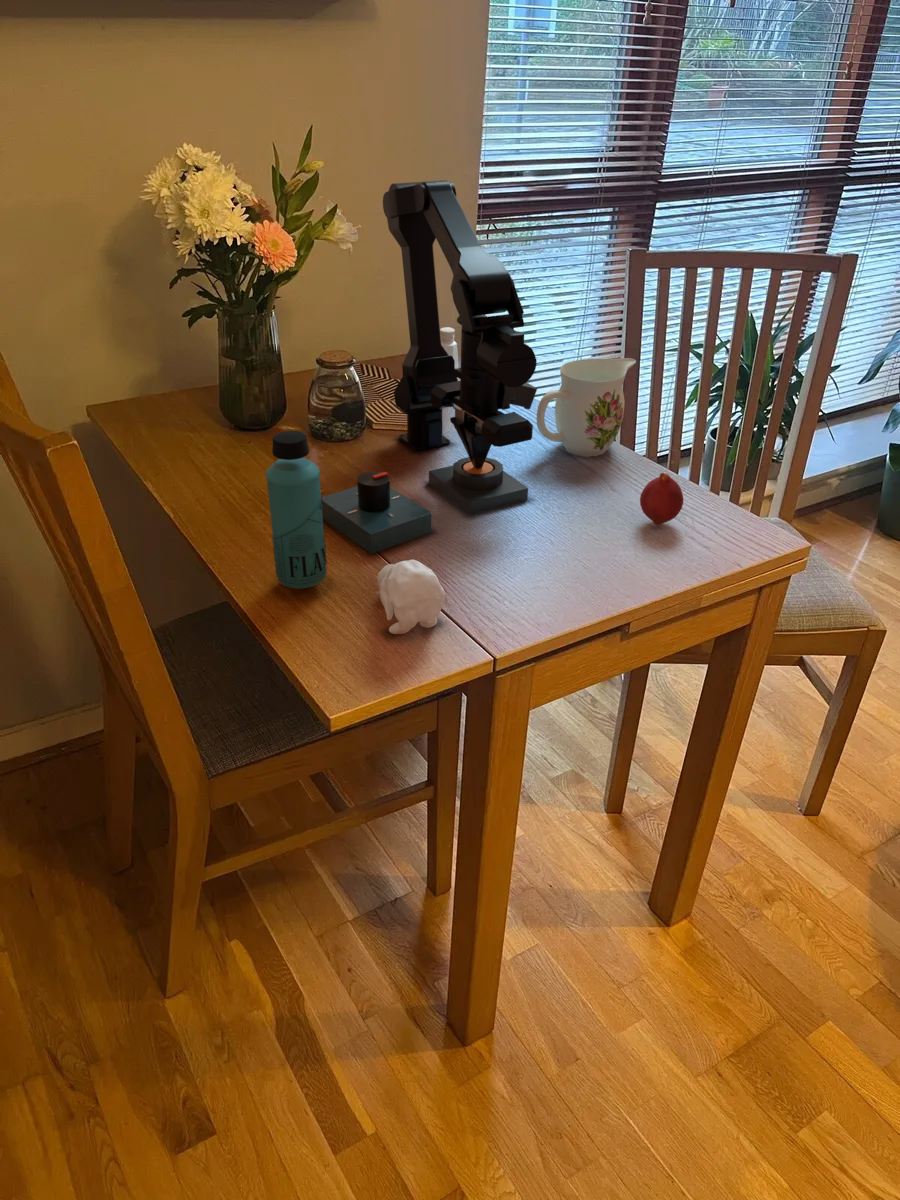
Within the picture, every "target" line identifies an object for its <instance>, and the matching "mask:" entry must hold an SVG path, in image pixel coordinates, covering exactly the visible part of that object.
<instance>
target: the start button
mask: <svg viewBox="0 0 900 1200" xmlns="http://www.w3.org/2000/svg"><path fill="white" fill-rule="evenodd" d="M463 470H464V471H465V472H468V473H472V474H487V473H491V472H492V471H493V466H492V465H491V464H489V463H486V462H484V464H483V467H482V468H478V469H476V468H475V467H474V466H473V464H472V462H469V463H466V464H465V465H464V466H463Z"/></svg>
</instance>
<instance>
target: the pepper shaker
mask: <svg viewBox="0 0 900 1200" xmlns="http://www.w3.org/2000/svg"><path fill="white" fill-rule="evenodd" d="M455 332H456V330H455V328H453V327H449V326H445V327H440V337H441V345H442V346H443V348H444V349H445V351H446V352H447V354H448V355H449V356H450V355H451V356H452V357H453V359H454V361H455V369H457V368H460V362H459V352H458V343H457V342H456V341H455ZM457 379H458V381H460V379H459V378H457Z"/></svg>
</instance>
